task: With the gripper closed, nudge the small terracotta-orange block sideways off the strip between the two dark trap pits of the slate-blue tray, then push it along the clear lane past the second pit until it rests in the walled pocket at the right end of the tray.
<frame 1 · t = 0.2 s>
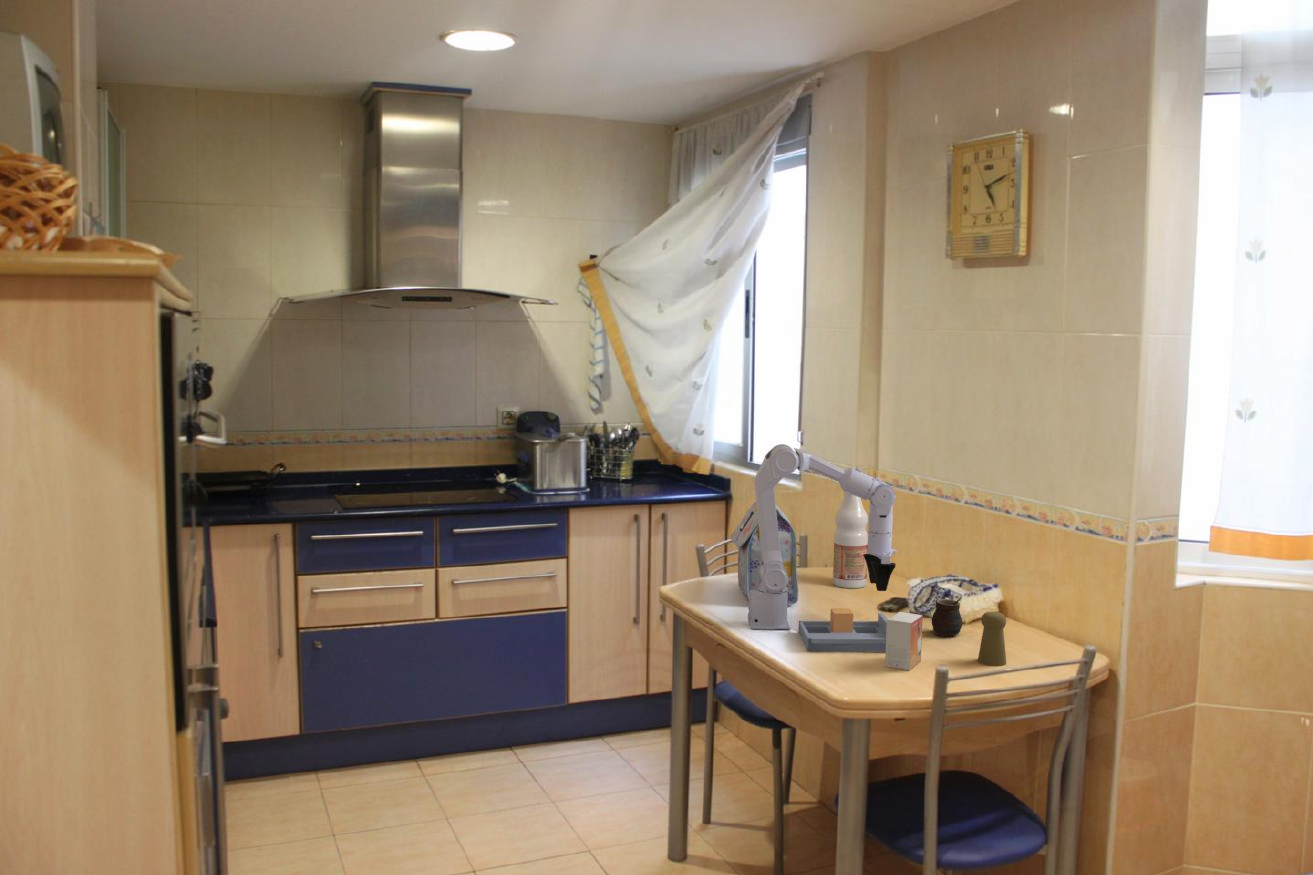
hand: (878, 586, 265), 10 cm above the table, tool pointing down, fingers open, 7 cm apart
tray: (846, 642, 252), on the table
small box: (903, 665, 237), on the table
block: (841, 629, 256), point 2 cm above the table, touching tray
fruit juice: (849, 585, 308), on the table
lunch bag: (763, 597, 294), on the table
olive green pepper mill: (992, 662, 239), on the table
mate gourd: (947, 635, 260), on the table
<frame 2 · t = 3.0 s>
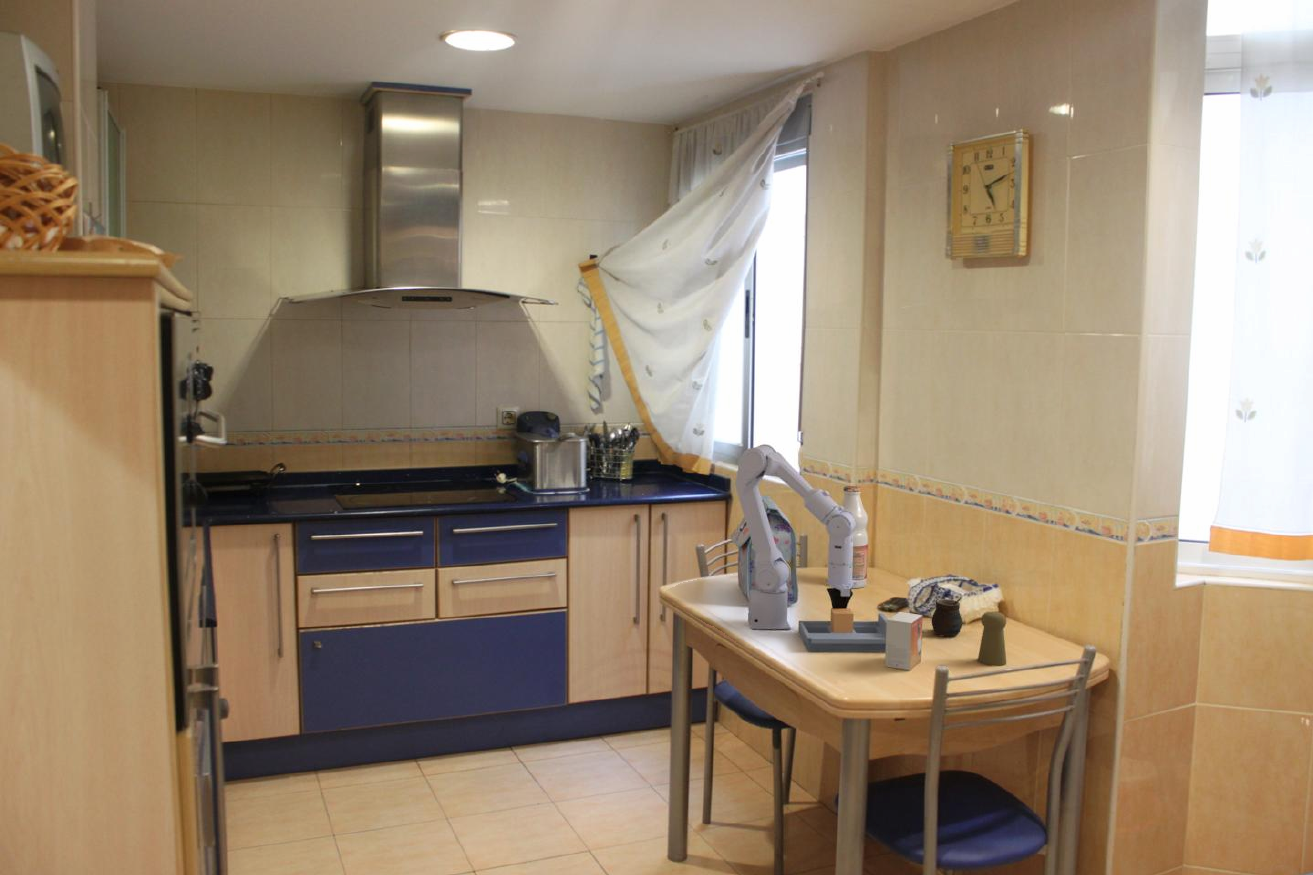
hand: (839, 618, 259), 4 cm above the table, tool pointing down, fingers closed
block: (841, 629, 256), point 2 cm above the table, touching gripper
everything else where it was.
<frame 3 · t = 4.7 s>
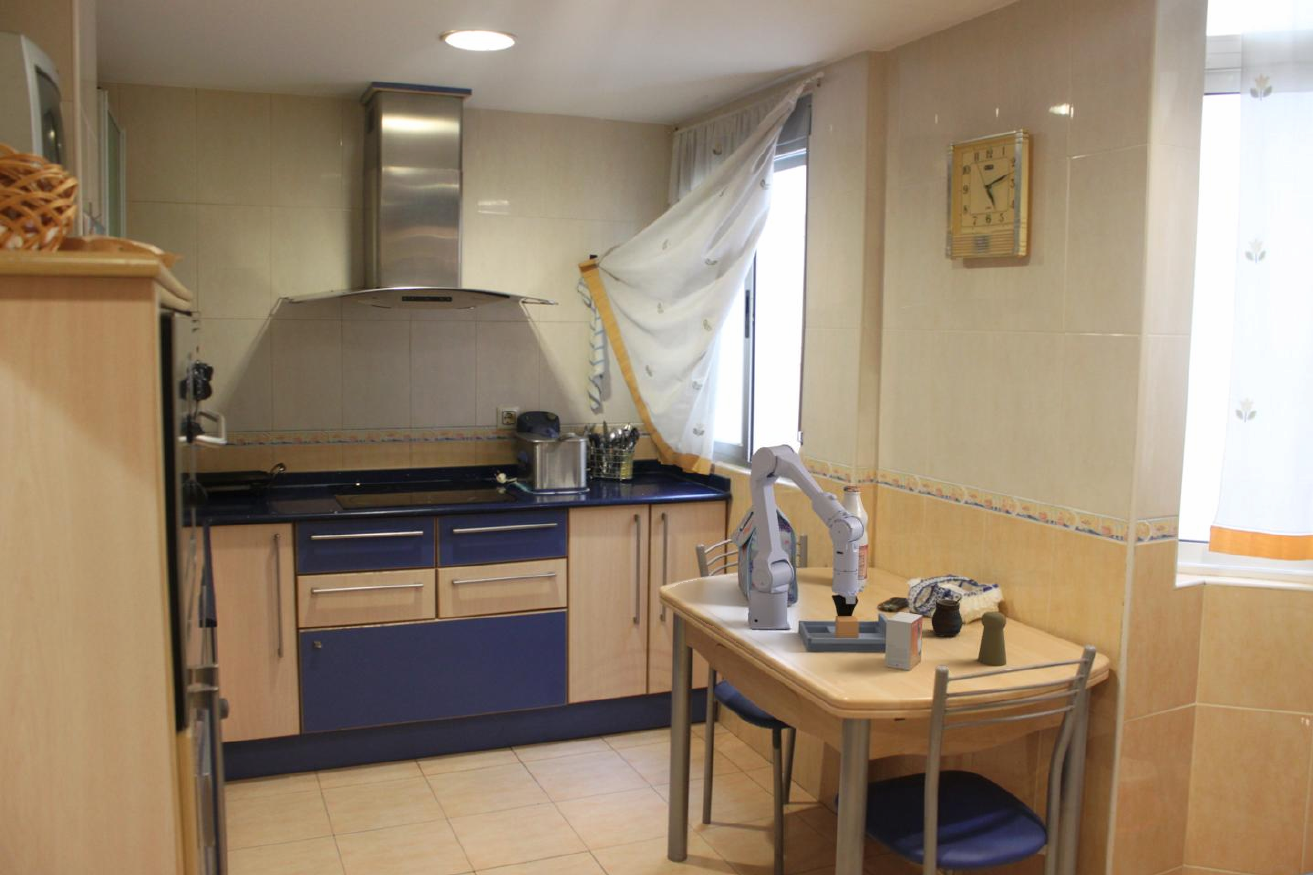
hand: (844, 626, 252), 4 cm above the table, tool pointing down, fingers closed
block: (846, 637, 249), point 2 cm above the table, touching gripper, tray
everything else where it was.
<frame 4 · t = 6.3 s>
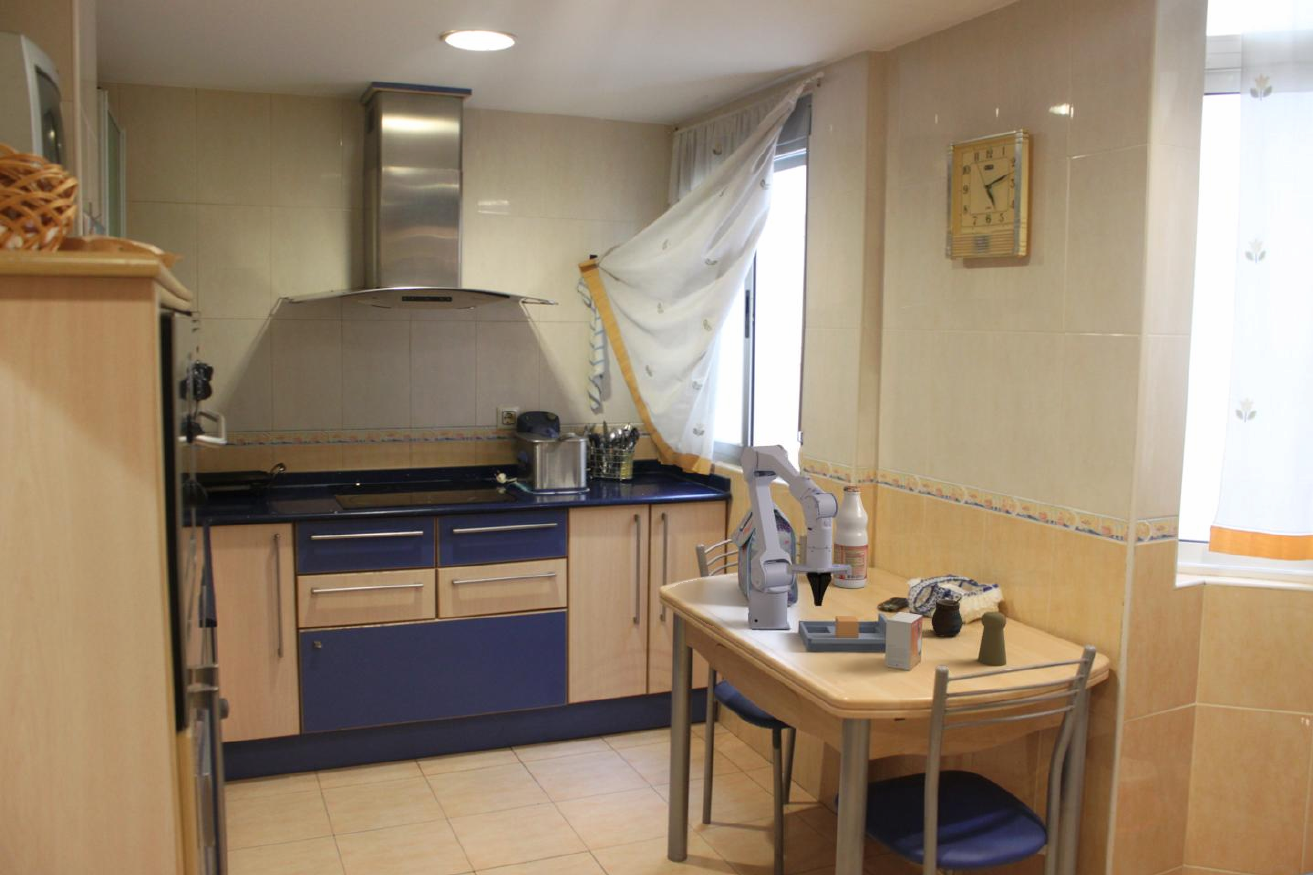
hand: (817, 605, 248), 10 cm above the table, tool pointing down, fingers closed
block: (846, 637, 249), point 2 cm above the table, touching tray
everything else where it was.
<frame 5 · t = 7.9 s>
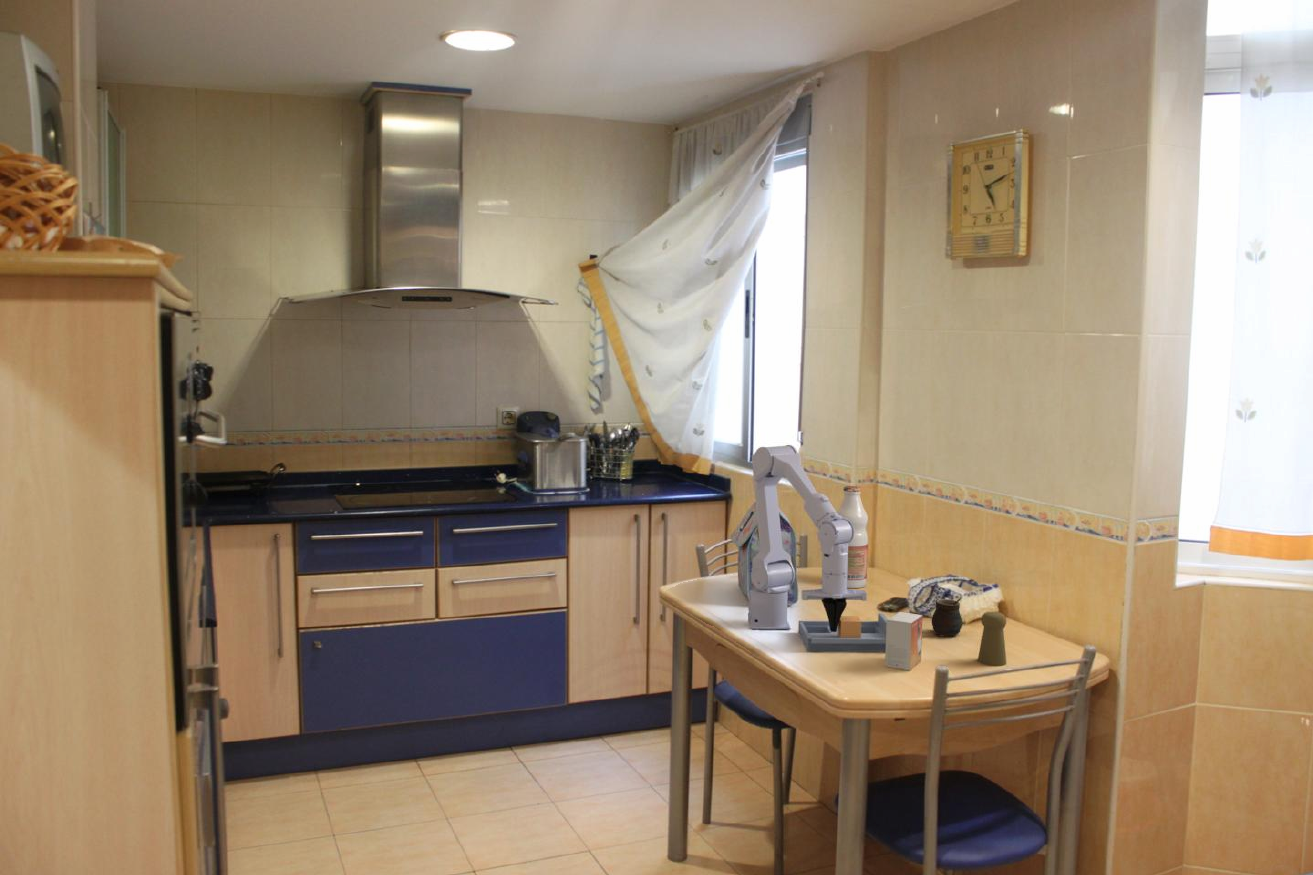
hand: (833, 630, 249), 4 cm above the table, tool pointing down, fingers closed
block: (849, 637, 249), point 2 cm above the table, touching gripper
everything else where it was.
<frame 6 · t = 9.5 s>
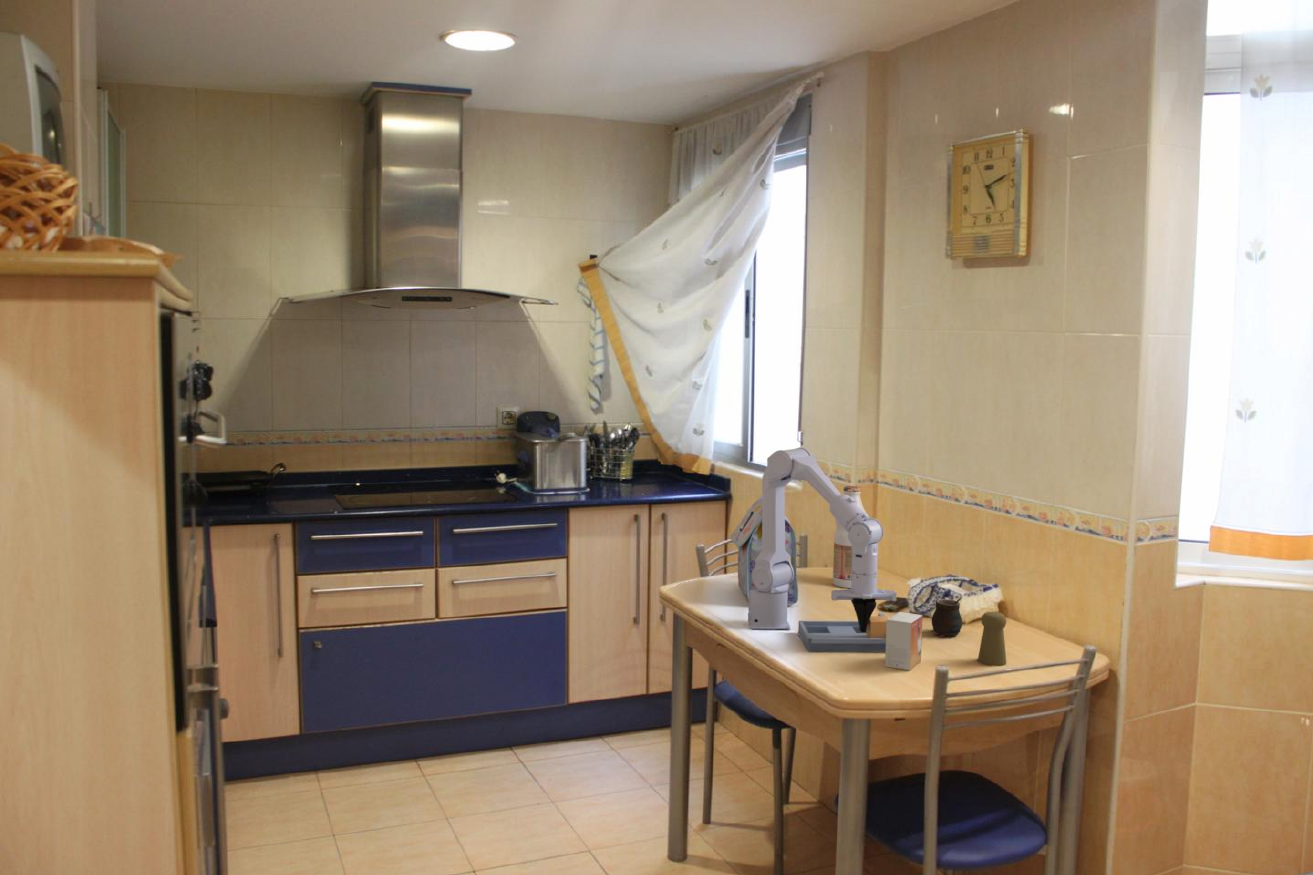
hand: (862, 630, 249), 4 cm above the table, tool pointing down, fingers closed
block: (878, 638, 249), point 2 cm above the table, touching gripper, tray
everything else where it was.
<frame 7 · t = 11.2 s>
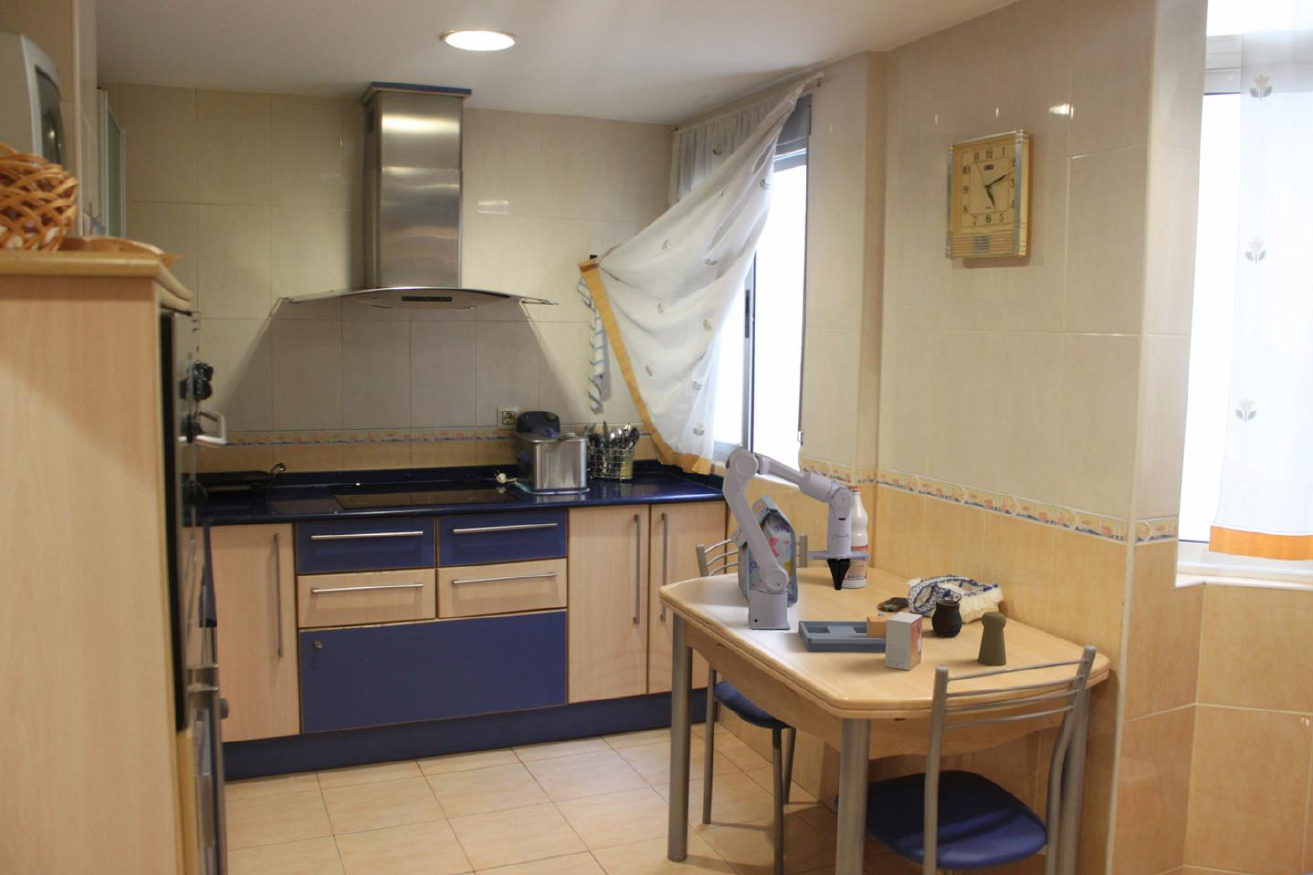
hand: (837, 589, 266), 9 cm above the table, tool pointing down, fingers closed
block: (878, 638, 249), point 2 cm above the table, touching tray
everything else where it was.
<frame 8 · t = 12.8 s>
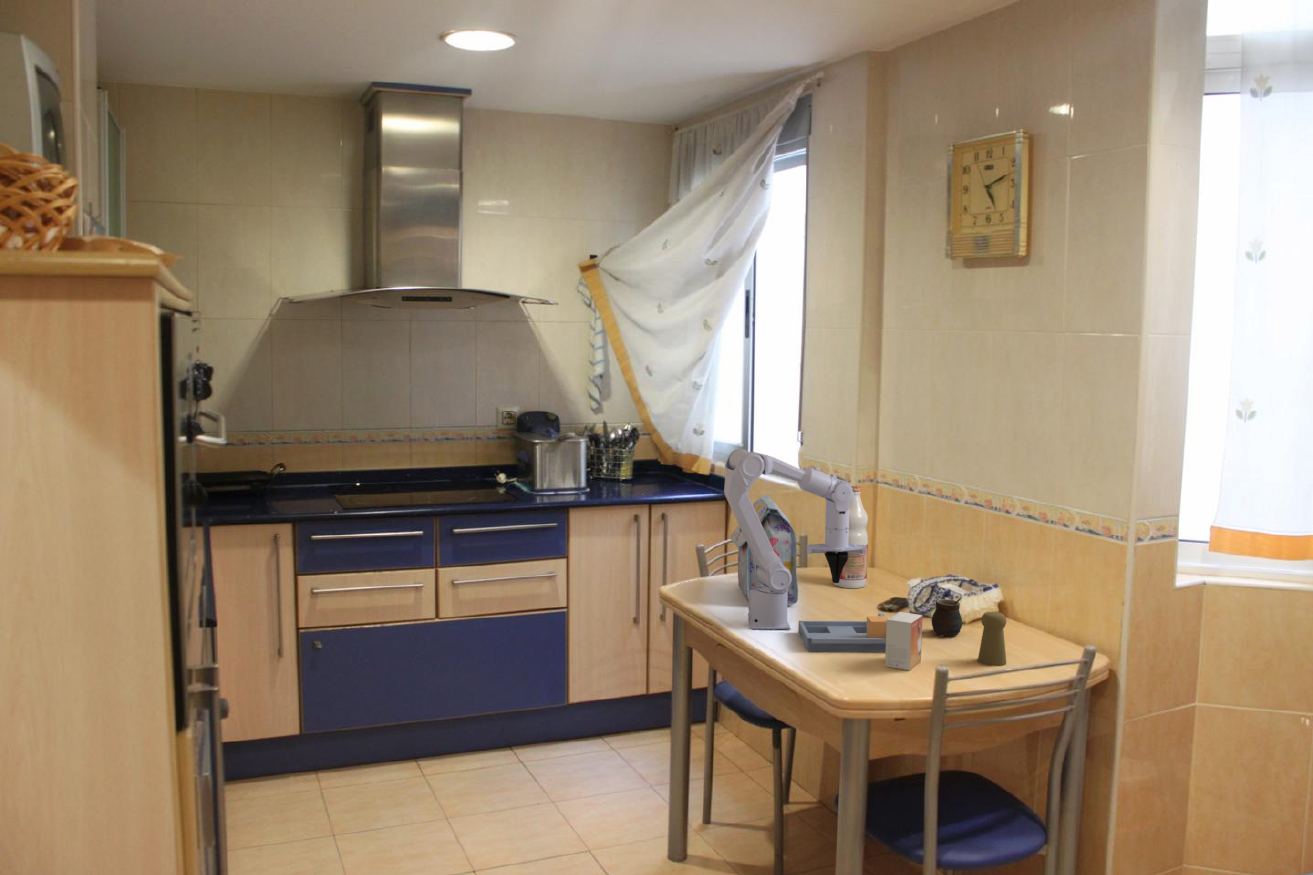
hand: (835, 582, 269), 10 cm above the table, tool pointing down, fingers closed
nothing on the table moved.
at the end: block 0.6 cm from the target spot on the tray, point 2.0 cm above the tray's base; block tilted 0° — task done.
